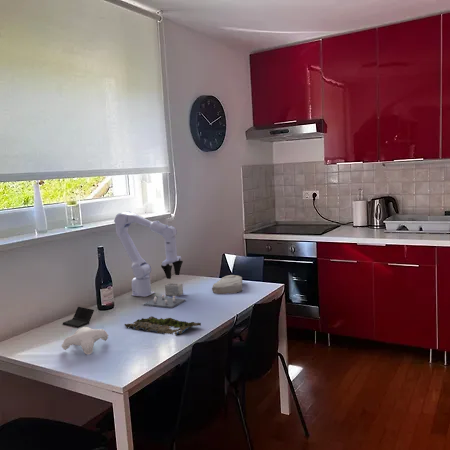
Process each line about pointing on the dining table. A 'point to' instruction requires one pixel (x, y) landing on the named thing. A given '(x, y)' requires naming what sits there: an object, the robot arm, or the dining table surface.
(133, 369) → the dining table surface
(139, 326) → the miniature landscape
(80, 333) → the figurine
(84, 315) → the handheld gaming console
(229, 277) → the stone
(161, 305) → the grey knobbed plate
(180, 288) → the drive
